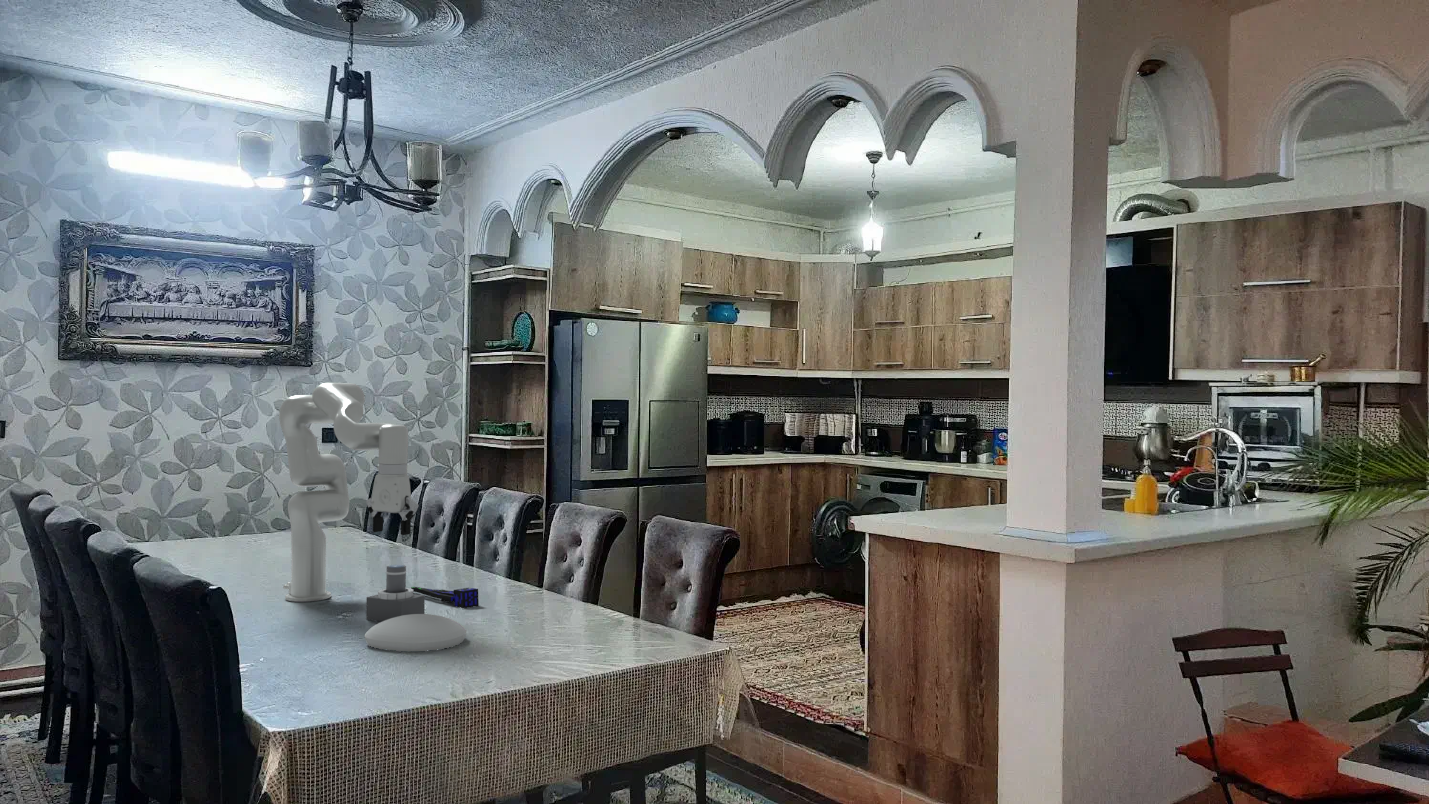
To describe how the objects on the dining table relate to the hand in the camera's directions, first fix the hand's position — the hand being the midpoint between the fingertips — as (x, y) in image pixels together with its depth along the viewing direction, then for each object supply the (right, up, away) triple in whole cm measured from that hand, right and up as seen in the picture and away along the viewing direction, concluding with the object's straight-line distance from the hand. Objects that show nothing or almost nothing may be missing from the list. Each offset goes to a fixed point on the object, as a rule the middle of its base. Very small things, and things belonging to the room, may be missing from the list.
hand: (391, 533), depth 275 cm
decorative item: (+15, -24, -28) cm, 40 cm away
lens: (+2, -17, -2) cm, 17 cm away
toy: (+8, -23, +25) cm, 35 cm away
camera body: (+2, -23, -2) cm, 23 cm away
